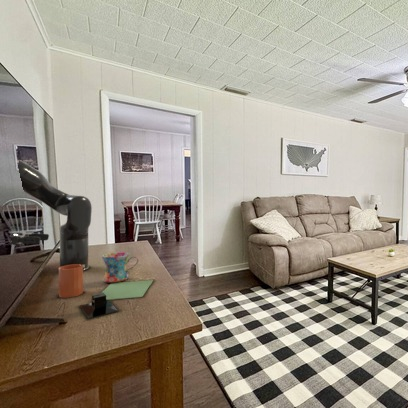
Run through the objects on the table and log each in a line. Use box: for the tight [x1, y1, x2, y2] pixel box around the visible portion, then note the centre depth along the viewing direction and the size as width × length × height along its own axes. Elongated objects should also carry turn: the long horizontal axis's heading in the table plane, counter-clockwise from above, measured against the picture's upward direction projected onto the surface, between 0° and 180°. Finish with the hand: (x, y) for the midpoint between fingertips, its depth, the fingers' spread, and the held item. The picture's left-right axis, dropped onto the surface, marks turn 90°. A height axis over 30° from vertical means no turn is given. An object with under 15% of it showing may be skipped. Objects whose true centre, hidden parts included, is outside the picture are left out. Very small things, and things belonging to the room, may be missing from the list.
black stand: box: [80, 292, 119, 320], centre depth 90 cm, size 12×7×5 cm, turn 51°
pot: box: [58, 264, 84, 299], centre depth 99 cm, size 6×6×10 cm
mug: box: [101, 252, 140, 284], centre depth 115 cm, size 12×9×11 cm
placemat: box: [100, 279, 154, 301], centre depth 106 cm, size 18×14×1 cm
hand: (44, 238), depth 97 cm, fingers open, 8 cm apart
